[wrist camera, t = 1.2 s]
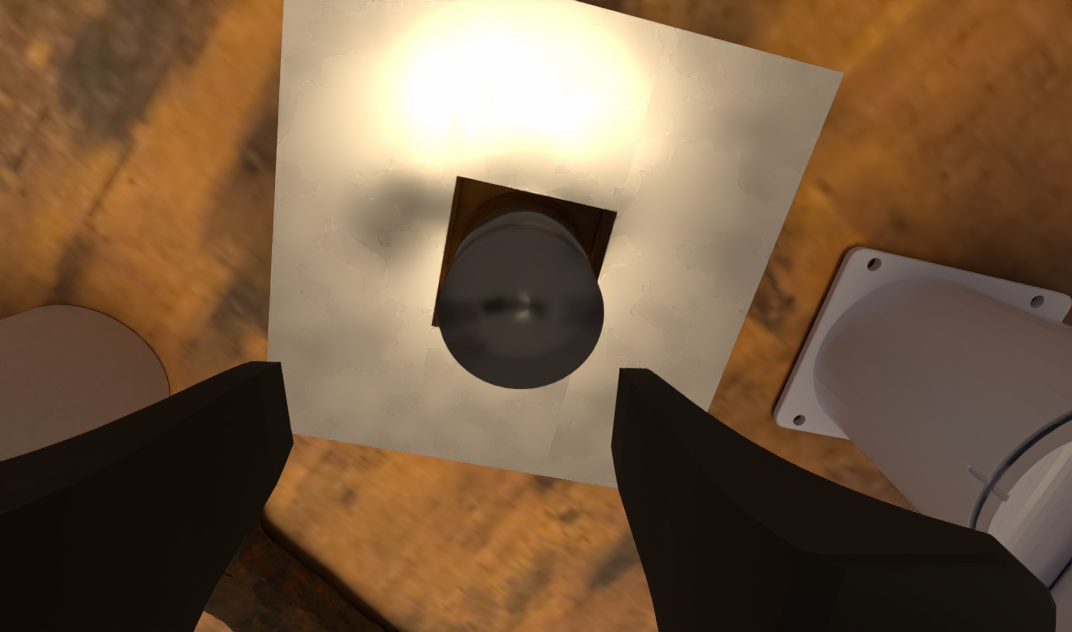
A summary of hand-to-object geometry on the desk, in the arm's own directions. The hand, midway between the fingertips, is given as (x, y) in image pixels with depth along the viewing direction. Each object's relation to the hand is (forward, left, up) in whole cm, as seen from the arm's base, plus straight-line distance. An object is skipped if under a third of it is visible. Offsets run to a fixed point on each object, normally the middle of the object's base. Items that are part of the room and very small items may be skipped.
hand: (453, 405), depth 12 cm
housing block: (-1, -1, -10) cm, 10 cm away
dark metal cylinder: (-1, -1, -10) cm, 10 cm away
